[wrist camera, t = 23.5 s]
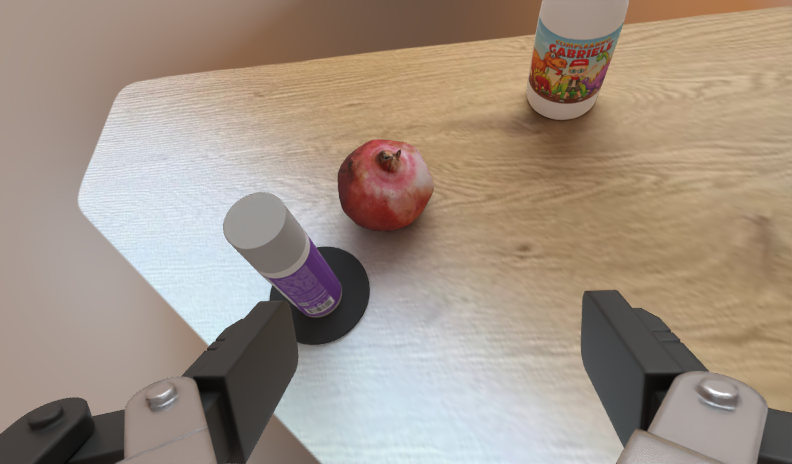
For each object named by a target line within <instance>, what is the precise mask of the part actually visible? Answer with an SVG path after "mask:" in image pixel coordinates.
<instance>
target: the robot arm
mask: <svg viewBox="0 0 792 464" xmlns="http://www.w3.org/2000/svg"><path fill="white" fill-rule="evenodd" d="M581 354H582V360H583V364H584V367H585V370H586V372H587V374H588V376H589V378H590V380H591V382H592V384H593V386H594V388H595V390H596V392H597V394H598V396H599V398H600V400H601V402H602V404H603V406H604V408H605V410H606V412H607V414H608V416H609V418H610V421H611V423H612V425H613V427H614V429H615V431H616V433H617V435H618V437H619V439H620V441H621V443H622V445H623V447H624V450H623V451H622V453H621V455H620V457H619V459H618V460H617V462H616V464H792V413H790V412H785V411H780V410H775V409H771V408H768V405H767V403H766V401H765V399H764V398H763V397H762V396H761V395H760V394H759V393H758V392H757V391H756V390H754V389H753V388H752V387H750V386H748V385H747V384H745V383H743V382H741V381H739V380H736V379H734V378H731V377H728V376H725V375H721V374H718V373H712V372H709V371H708V370H707V368H706V367H705V366H704V365H703V364H702V363H701V362H700V361H699V360H698V359H697V358H696V357H695V356H694V354H693V353H692V352H691V351H690V350H689V349H688V348H687V347H686V346H685V345H684V344H683V343H681V342H680V339H679V338H678V337H677V336H676V335H675V334H674V333H671V330H670V329H669V328H668V327H667V325H666V324H665V323H664V322H663V321H662V320H661V319H660V318H659V317H657V316H655V315H653V314H651V313H649V312H647V311H646V310H644V309H642V308H632V307H631V306H630V305H629V303H628V302H627V301H626V300H625V299H624V298H623V296H622V295H621V294H620V293H619V292H618V291H617V290H598V291H585V292H584V294H583V300H582V326H581ZM297 365H298V346H297V341H296V335H295V330H294V324H293V318H292V313H291V308H290V305H289V303H288V302H287V301H260V302H259V303H258V304H257V305H256V306H255V307H254V308H253V309H252V310H251V311H250V313H249V314H248V315H247V316H246V317H245V318H244V319H241V320H239V321H237V322H236V323H234V324H232V325H231V326H229V327H227V328H226V329H225V330H224V331H223V332H222V333H221V334H220V335H219V336H218V337H217V339H216V342H213V343H212V344H211V345H210V346H209V347H208V348H207V351H204V352H203V354H202V355H201V356H200V357H199V358H198V359H197V360H196V361H195V362H194V363H193V365H191V366H190V367H189V369H188V370H187V371H186V372H185V373H184V374H183V375H182V376H181V377H171V378H167V379H163V380H160V381H157V382H155V383H153V384H150V385H148V386H147V387H145V388H143V389H142V390H140V391H139V392H137V393H136V394H135V395H134V396H133V397H132V398H131V399H130V400H129V401H128V403H127V404H126V406H125V410H120V411H116V412H111V413H106V414H102V415H97V416H92V415H91V412H90V409H89V407H88V404H87V401H85V400H84V399H82V398H66V399H61V400H57V401H54V402H51V403H48V404H45V405H43V406H41V407H39V408H36V409H34V410H33V411H31V412H29V413H27V414H26V415H24V416H23V417H21V418H20V419H19V420H17V421H16V422H15V423H13V424H12V425H11V426H10V427H8V428H7V429H6V430H5V431H4V432H2V433H1V434H0V464H228V463H229V464H246V462H247V460H248V458H249V456H250V454H251V452H252V451H253V449H254V447H255V445H256V444H257V441H258V440H259V438H260V436H261V434H262V432H263V430H264V429H265V427H266V425H267V423H268V421H269V420H270V418H271V416H272V414H273V412H274V410H275V408H276V407H277V405H278V403H279V401H280V399H281V397H282V396H283V394H284V392H285V390H286V388H287V386H288V384H289V383H290V381H291V379H292V377H293V375H294V373H295V371H296V369H297Z"/></svg>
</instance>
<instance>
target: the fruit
mask: <svg viewBox="0 0 792 464" xmlns="http://www.w3.org/2000/svg"><path fill="white" fill-rule="evenodd" d="M433 189H434V187H433V181H432V177H431V174H430V172H429V170H428V168H427V166H426V164H425V162H424V160H423V158H422V156H421V154H420V152H419V151H418V150H417V149H416V148H415V147H413V146H411V145H409V144H407V143H404V142H397V141H391V140H371V141H369V142H367V143H365V144H364V145H362V146H361V147H359V148H357V149H356V150H355V151H353V152H352V153H351V154H350V155H348V157H347V158H346V159H345V160H344V162H343V163H342V165H341V167H340V169H339V172H338V191H339V199H340V202H341V206H342V209H343V211H344V212H345V213H346V215H347V216H348V217H349V218H351V219H352V220H353V221H354V222H355V223H356V224H357V225H359V226H361V227H364V228H367V229H370V230H374V231H391V230H395V229H400V228H402V227H405V226H407V225H409V224H411V223H412V222H413V221H414V220H415V219H416V218H417V217H418V216H419V215H420V214H421V213H422V212H423V210H424V208H425V206H426V204H427V202H428V201H429V199H430V197H431V195H432V193H433Z"/></svg>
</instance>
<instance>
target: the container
mask: <svg viewBox="0 0 792 464" xmlns="http://www.w3.org/2000/svg"><path fill="white" fill-rule="evenodd" d="M223 231H224V235H225V237H226V239H227V241H228V242H229V243H230V244H231V245H232V246H233V247H234V248H235V249H236V250H237V251H238V252H239V253H240V254H241V255H242V256H243V257H244V258H245V259H246V260H247V261H248V262H249V263H250V264H251V265H252V266H253V267H254V268H255V269H256V270H257V271H258V272H259V273H260V274H261V275H262V276H263V277H264V278H265V279H266V280H267V281H268V282H270V283H271V284H272V285H273V286H274V287H275V288H276V289H277V290H278V291H279V292H280V293H282V294H283V295H284V296H285V297H286V298H287V299H288V300H289V301H290V302H291V303H292V304H294V305H295V306H296V307H297V308H298V309H299V310H300V311H301V312H302V313H304V314H305V315H307V316H310V317H323V316H325V315H328V314H329V313H331V312H332V311H333V310H334V309H335V308H336V307H337V306H338V304H339V303H340V300H341V297H342V286H341V284H340V282H339V280H338V278H337V277H336V276H335V274H334V273H333V271H332V270H331V268H330V267H329V265H328V264H327V262H326V261H325V260H324V258H323V257H322V255H321V254H320V252H319V251H318V249H317V248H316V246H315V245H314V244H313V242H312V241H311V239H310V238H309V236H308V235H307V233H306V232H305V231H304V230H303V228H302V227H301V226H300V224H299V223H298V222H297V221H296V219H295V218H294V217H293V215H292V214H291V213H290V211H289V210H288V209H287V207H286V206H285V205H284V203H283V202H282V201H281V200H280V199H279V198H278V197H277V196H275V195H273V194H270V193H265V192H259V193H253V194H250V195H247V196H245V197H243V198H241V199H240V200H238V201H237V202H236V203H235V204H234V205H233V206H232V207H231V208H230V209H229V211H228V213H227V214H226V217H225V219H224V224H223Z"/></svg>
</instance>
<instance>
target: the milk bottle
mask: <svg viewBox="0 0 792 464" xmlns="http://www.w3.org/2000/svg"><path fill="white" fill-rule="evenodd" d="M628 4H629V0H543V1H542V4H541V10H540V14H539V19H538V24H537V29H536V35H535V41H534V47H533V53H532V59H531V65H530V71H529V77H528V84H527V99H528V101H529V103H530V105H531V107H532V108H533V109H534V110H535V111H536V112H538V113H539V114H541V115H543V116H545V117H548V118H551V119H557V120H567V119H573V118H576V117H579V116H581V115H583V114H584V113H586V112H587V111H588V110H589V109H591V108H592V106H593V105H594V103H595V101H596V99H597V97H598V94H599V91H600V89H601V86H602V83H603V80H604V78H605V75H606V72H607V69H608V66H609V64H610V61H611V58H612V55H613V52H614V49H615V47H616V44H617V41H618V38H619V35H620V32H621V29H622V26H623V23H624V19H625V16H626V12H627V8H628Z"/></svg>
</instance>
